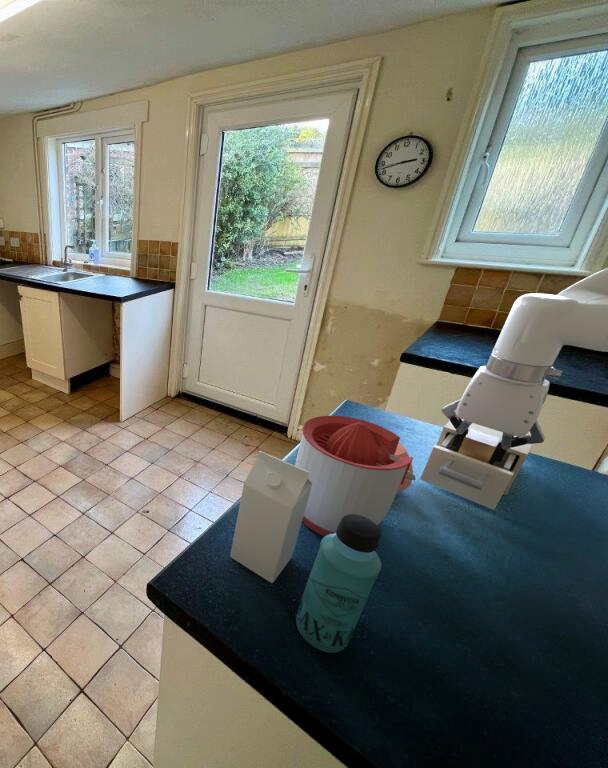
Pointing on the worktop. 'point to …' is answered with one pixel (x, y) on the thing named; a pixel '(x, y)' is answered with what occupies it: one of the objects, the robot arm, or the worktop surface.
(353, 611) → the beverage bottle
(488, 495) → the drawer
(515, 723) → the worktop surface
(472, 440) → the block
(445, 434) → the cabinet
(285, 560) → the milk carton
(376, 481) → the citrus juicer
